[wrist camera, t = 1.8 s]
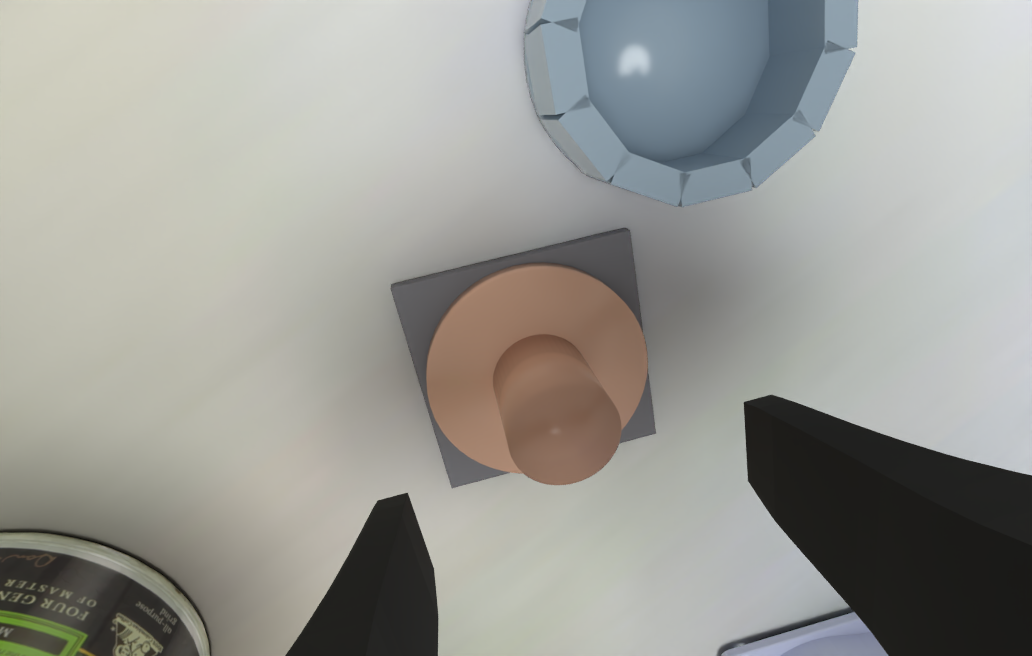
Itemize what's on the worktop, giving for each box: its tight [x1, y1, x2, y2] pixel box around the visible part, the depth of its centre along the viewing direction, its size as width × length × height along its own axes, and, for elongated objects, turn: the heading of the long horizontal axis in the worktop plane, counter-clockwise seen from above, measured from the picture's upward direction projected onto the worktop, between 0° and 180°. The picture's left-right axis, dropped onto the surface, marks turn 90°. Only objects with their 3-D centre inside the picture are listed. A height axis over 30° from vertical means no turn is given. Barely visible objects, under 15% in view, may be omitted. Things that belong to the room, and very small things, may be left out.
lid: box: [426, 262, 648, 485], centre depth 15 cm, size 7×7×4 cm
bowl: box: [524, 0, 858, 207], centre depth 14 cm, size 7×7×3 cm
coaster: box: [391, 228, 656, 488], centre depth 17 cm, size 7×7×1 cm
